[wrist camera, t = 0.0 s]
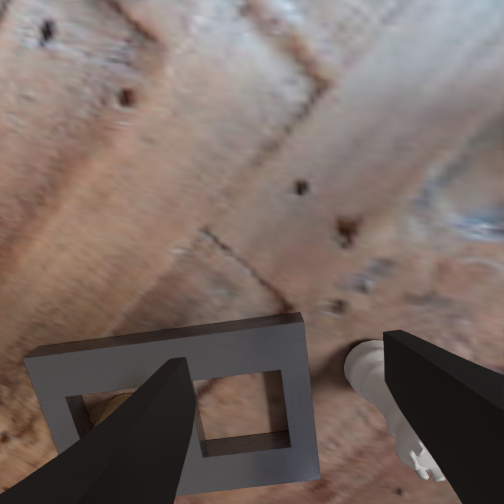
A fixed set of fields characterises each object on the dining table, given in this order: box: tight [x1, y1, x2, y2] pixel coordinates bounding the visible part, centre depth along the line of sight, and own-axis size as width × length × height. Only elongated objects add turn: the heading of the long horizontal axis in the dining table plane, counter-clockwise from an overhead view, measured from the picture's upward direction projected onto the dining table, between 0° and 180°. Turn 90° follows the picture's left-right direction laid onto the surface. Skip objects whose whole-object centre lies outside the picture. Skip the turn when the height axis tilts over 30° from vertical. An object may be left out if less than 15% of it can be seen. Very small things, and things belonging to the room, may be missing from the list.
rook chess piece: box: [344, 340, 445, 482], centre depth 18 cm, size 4×4×8 cm
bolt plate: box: [23, 312, 321, 496], centre depth 20 cm, size 14×20×5 cm
